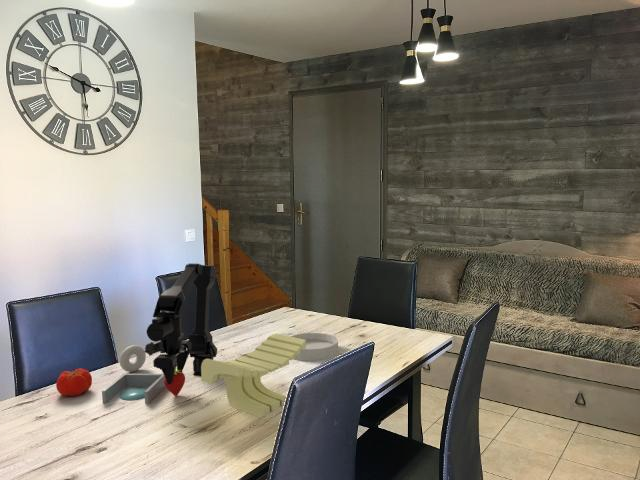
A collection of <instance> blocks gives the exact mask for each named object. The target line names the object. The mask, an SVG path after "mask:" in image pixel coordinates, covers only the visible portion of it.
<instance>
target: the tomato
mask: <svg viewBox="0 0 640 480" xmlns="http://www.w3.org/2000/svg"><path fill="white" fill-rule="evenodd" d="M55 384H56V385H55V387H56V388H55V389H56V390H57V393H59V394H60V395H61V396H65V397H66V396H67V397H69V396H71V397H75V396H77V397H78V396H79V395H81V394H82V393H85V392H87V391H88V390H89V389H90V388H91V387H92V384H93V377H92V374H91V373H90V371H89V370H87V369H84V368H76V369H74V370H72V371H71V370H70V371H69V370H65V371H63V372H61V373H60V375H59V377H58V378H57V380H56V383H55Z"/></svg>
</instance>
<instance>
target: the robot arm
mask: <svg viewBox="0 0 640 480" xmlns="http://www.w3.org/2000/svg"><path fill="white" fill-rule="evenodd" d="M217 274H218V273H217V269H216V267H215V266H214V265H212V264H211V265H210V264H209V265H207V264H200V263H187V264H185V266H184V270H183V271H182V272H181V274H180V276H179V277H178V278H177V279H176V281H175V282H174V284H173V285H172V286H171V287H170V288H168V289H166V290H164V291H163V292H162V293H160V295H159V297H158V298H157V301H156V304H155V308H154V310H153V311H154V312H153V314H152V317H153V318H152V319H151V323H150V324H149V325H148V327H147V329H146V335H147V337H148V339H149V340H150V341H151V342H148V343H146V344H145V347H144V351H145V354H146V355H149V357H150V356H153V355H154V354H157V353H160V354H159V355H157V356H156V357H155V358H154V359H153V360H152V363H153V367H154V368H156V369H159V370H161V372H162V374H164V376H165V378H166V381H167V383H168V384H172V380H173V377H174V373H175V371H177V370H181V371H179V372H182V373H183V371H184V367H185V366H186V363H187V360H188V358H189V357H190V358H193V360H192V367H193V368H192V371H193V373H192V374H193V376H202V375H201V365H202V362H203V360H205V359H211V360H214V358H216V357H217V354H218V348H217V347H216V345H215V344H214V341H213V335H212V333H211V332H210V329H209V325H210V324H209V323H210V320H209V319H210V305H211V304H210V300H211V289H212V288H213V286H214V285H215V283H216V277H217ZM193 285H194V287H195V289H196V296H195V314H194V329H193V331H192V332H191V334H189V336H188V340H186V339H184V340H183V337H185V335H184V334H185V333H184V332H183V331H182V319H181V318H182V317H181V316H183V315H184V312H183V311H182V310H183V309H184V305H185V303H186V295H187V293H188V291H189V290H190V289H191V287H192V286H193Z"/></svg>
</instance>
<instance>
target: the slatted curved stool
mask: <svg viewBox="0 0 640 480" xmlns="http://www.w3.org/2000/svg"><path fill="white" fill-rule="evenodd" d="M305 348H306V340H304V339H299V338H295V337H291V336H290V335H284V334H280V333H273V334H271V335H270V336H269V335H268V337H267V338H266V339H265V340H264V341H262V342H261V344H260V345H258V346H256V348H255V349H254V350H253V351H250V352H248V353H247V354H245V356H244V355H243V356H240V357H237V358H234V359H231V360H227V361H226V360H225V361H224V360H215V359H213V360H211V359H205V360H203V362H202V365H201V375H200V376H201V382H204V383H207V384H210V385H213V384H214V383H215V382H217V379H218V380H222V379H223V381H224V383H225V387H226V394H227V395H226V396H227V401H228V403H229V405H230V407H232V408H235V409H238V410H241V411H243V412H247V413H249V414H251V415H255V416H257V417H260V418H262V417H264V416H266V415H268V414H269V413H271V412H274V411H275V410H277V409H279V408H280V407H281V406H285V405H284V402H285V399H286V395H283V394H280V393H278V392H275V391H273V390H271V389H269V388H268V387H266V386H265V385H264V384H263V383H262V382H261V378H262V377H264V376H266V375H268V374H269V373H272V372H275V371H277V370H279V369H280V368H281V369H282V368H284V367H286V366H288V365H290V361H292V360H294V359H295V355H298V354H300V349H301V350H303V349H305Z"/></svg>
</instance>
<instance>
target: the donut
mask: <svg viewBox="0 0 640 480" xmlns="http://www.w3.org/2000/svg"><path fill="white" fill-rule="evenodd" d="M133 355H135V356H136V358H135V360H134V361H133V362H131V361H130V358H131V357H132V356H133ZM146 356H147V353H146V352H145V348H143V347H142V346H140V345H137V344H131V345H130V346H126V348H124V349H123V350H122V352H121V353H120V355H119V365H120V367H121V369H122V370H123V371H125V372H127V373H132V372H136V371H138V370H140V369H141V368H142V367H143V365H144V364H145V363H146V359H147V358H146Z"/></svg>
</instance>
